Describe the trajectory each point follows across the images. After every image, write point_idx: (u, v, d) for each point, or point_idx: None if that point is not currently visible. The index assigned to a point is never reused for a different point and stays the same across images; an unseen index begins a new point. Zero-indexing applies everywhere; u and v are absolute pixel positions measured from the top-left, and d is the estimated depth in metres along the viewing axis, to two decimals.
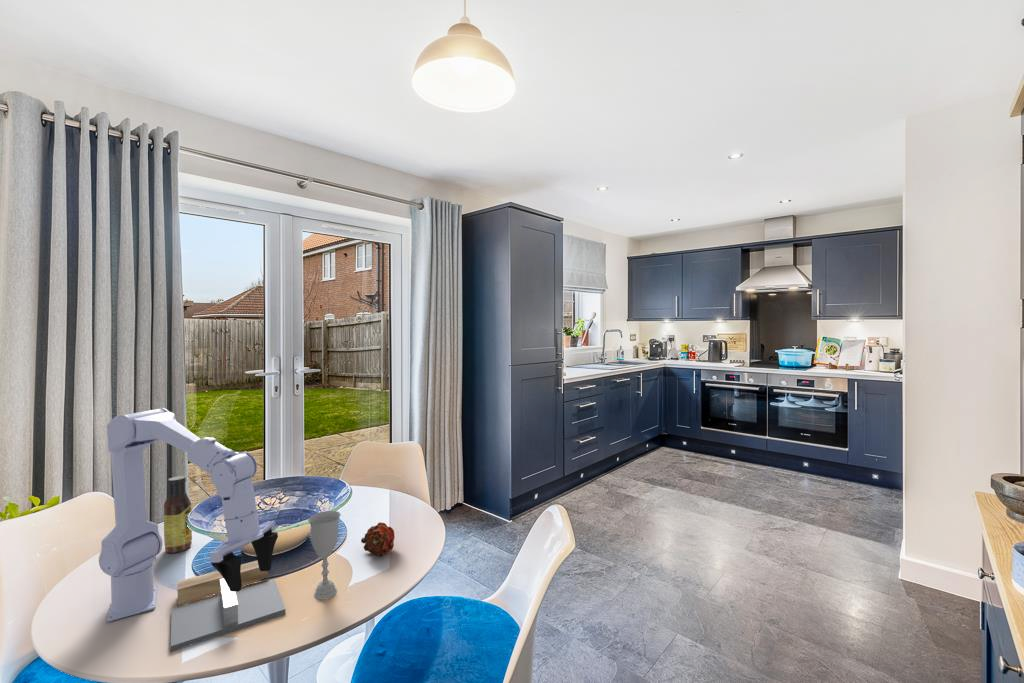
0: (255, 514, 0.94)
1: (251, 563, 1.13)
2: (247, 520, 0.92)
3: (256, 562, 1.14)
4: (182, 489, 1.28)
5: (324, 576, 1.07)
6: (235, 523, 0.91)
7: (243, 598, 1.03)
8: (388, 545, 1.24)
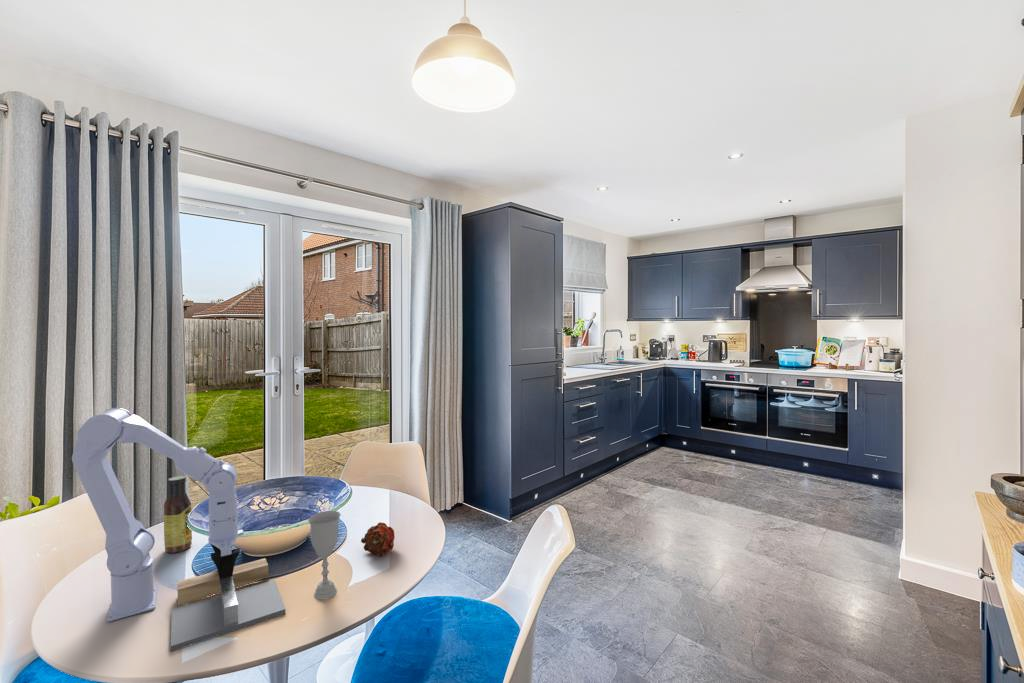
0: None
1: (251, 563, 1.13)
2: (236, 519, 1.09)
3: (256, 562, 1.14)
4: (182, 489, 1.28)
5: (324, 576, 1.07)
6: (229, 523, 1.07)
7: (243, 598, 1.03)
8: (388, 545, 1.24)
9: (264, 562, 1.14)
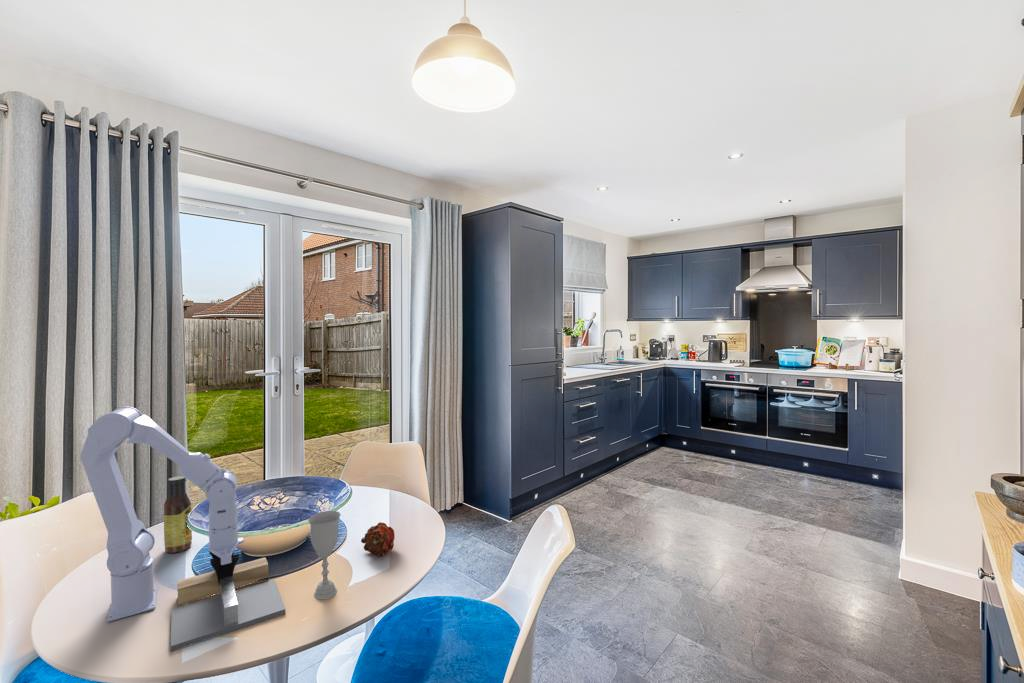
0: None
1: (251, 562, 1.13)
2: (236, 527, 1.09)
3: (256, 561, 1.14)
4: (182, 489, 1.28)
5: (324, 576, 1.07)
6: (229, 531, 1.07)
7: (243, 598, 1.03)
8: (388, 545, 1.24)
9: (264, 561, 1.14)
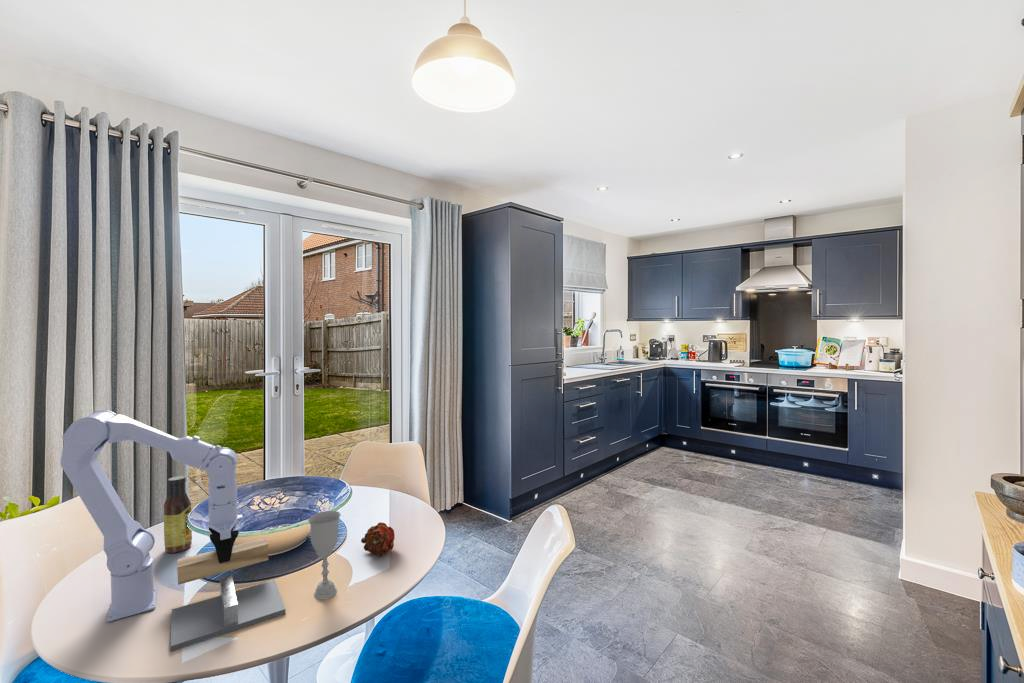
0: None
1: (251, 542, 1.13)
2: (236, 504, 1.09)
3: (256, 541, 1.14)
4: (182, 489, 1.28)
5: (324, 576, 1.07)
6: (229, 507, 1.07)
7: (243, 598, 1.03)
8: (388, 545, 1.24)
9: (264, 541, 1.14)
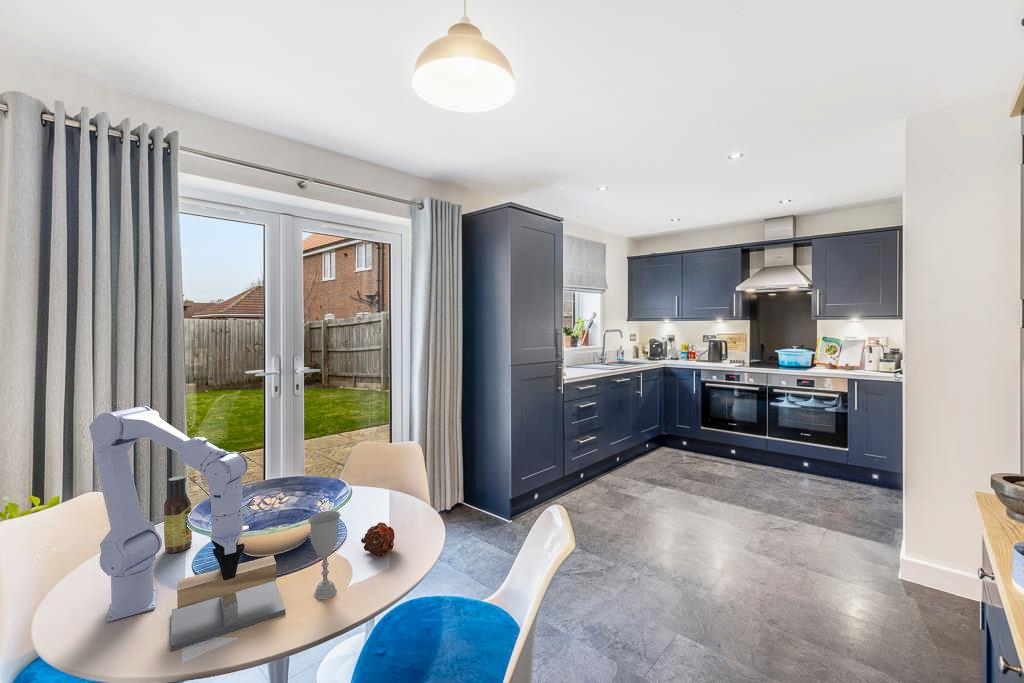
0: None
1: (258, 561, 1.04)
2: (241, 514, 0.99)
3: (263, 560, 1.04)
4: (182, 489, 1.28)
5: (324, 576, 1.07)
6: (234, 518, 0.97)
7: (243, 598, 1.03)
8: (388, 545, 1.24)
9: (272, 560, 1.04)
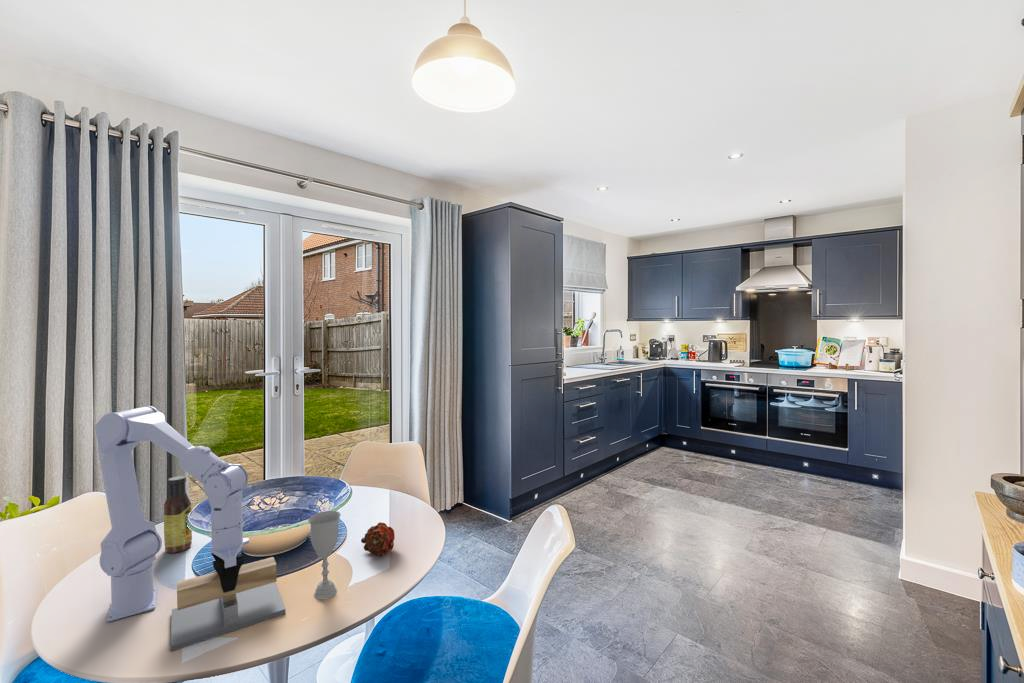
0: None
1: (258, 562, 1.04)
2: (241, 526, 0.99)
3: (263, 561, 1.04)
4: (183, 489, 1.28)
5: (324, 576, 1.07)
6: (234, 530, 0.97)
7: (243, 598, 1.03)
8: (388, 545, 1.24)
9: (272, 561, 1.04)
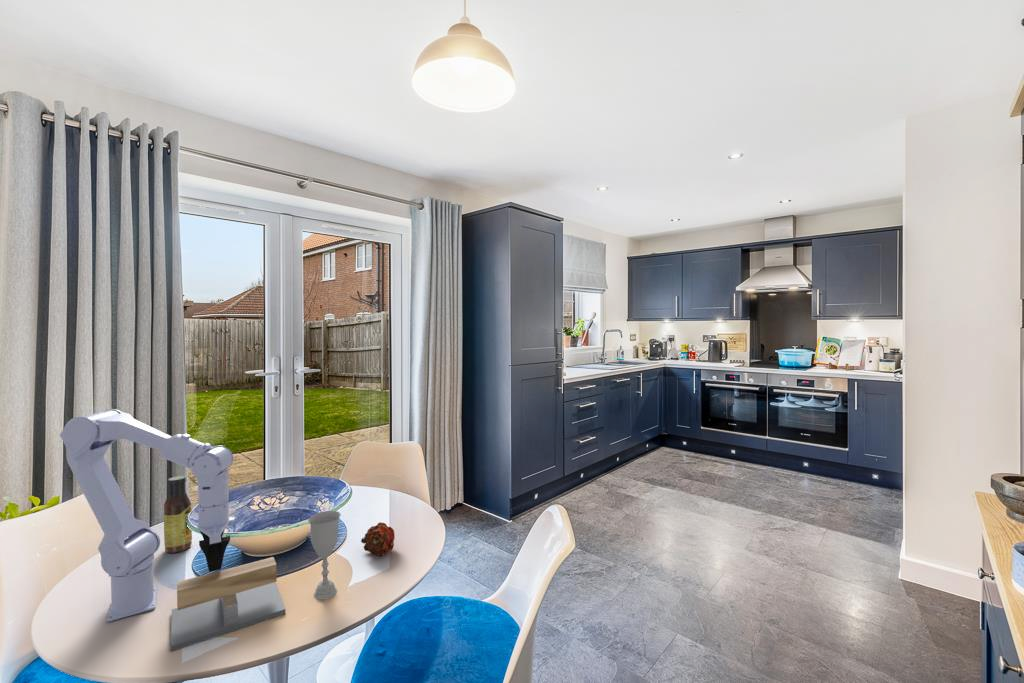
0: None
1: (258, 562, 1.04)
2: (227, 506, 1.03)
3: (263, 561, 1.04)
4: (183, 489, 1.28)
5: (324, 576, 1.07)
6: (220, 509, 1.01)
7: (243, 598, 1.03)
8: (388, 545, 1.24)
9: (272, 561, 1.04)
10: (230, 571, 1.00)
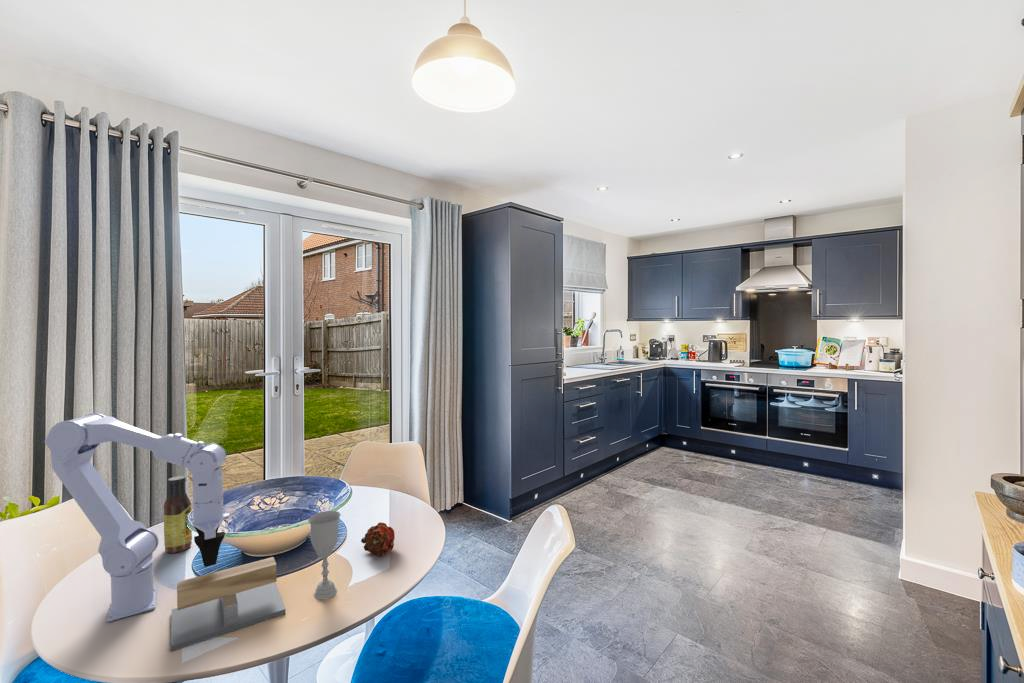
0: None
1: (258, 562, 1.04)
2: (222, 502, 1.05)
3: (263, 561, 1.04)
4: (182, 489, 1.28)
5: (324, 576, 1.07)
6: (214, 505, 1.03)
7: (243, 598, 1.03)
8: (388, 545, 1.24)
9: (272, 561, 1.04)
10: (230, 571, 1.00)
